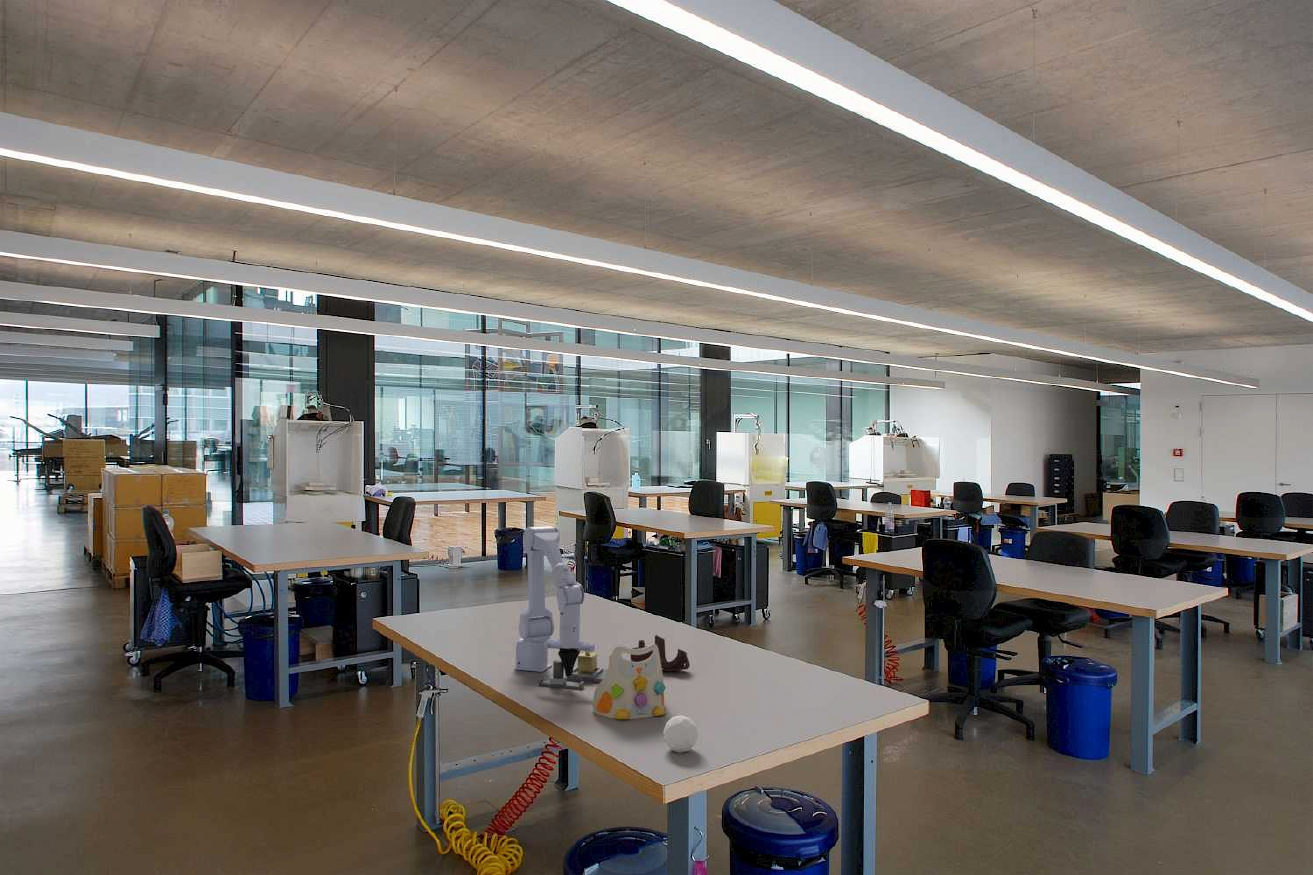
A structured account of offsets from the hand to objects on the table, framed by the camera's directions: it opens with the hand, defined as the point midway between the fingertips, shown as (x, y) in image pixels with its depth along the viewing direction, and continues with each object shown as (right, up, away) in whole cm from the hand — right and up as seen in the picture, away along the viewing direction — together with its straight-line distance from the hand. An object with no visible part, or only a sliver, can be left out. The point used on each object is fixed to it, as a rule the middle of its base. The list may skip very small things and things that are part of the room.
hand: (568, 675), depth 225 cm
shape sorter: (+19, -4, -21) cm, 29 cm away
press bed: (+6, -4, +10) cm, 12 cm away
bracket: (+26, -5, +20) cm, 34 cm away
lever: (-3, -3, +1) cm, 5 cm away
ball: (+30, -3, -47) cm, 56 cm away
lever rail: (-2, -3, 0) cm, 4 cm away
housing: (+4, -3, +10) cm, 11 cm away
